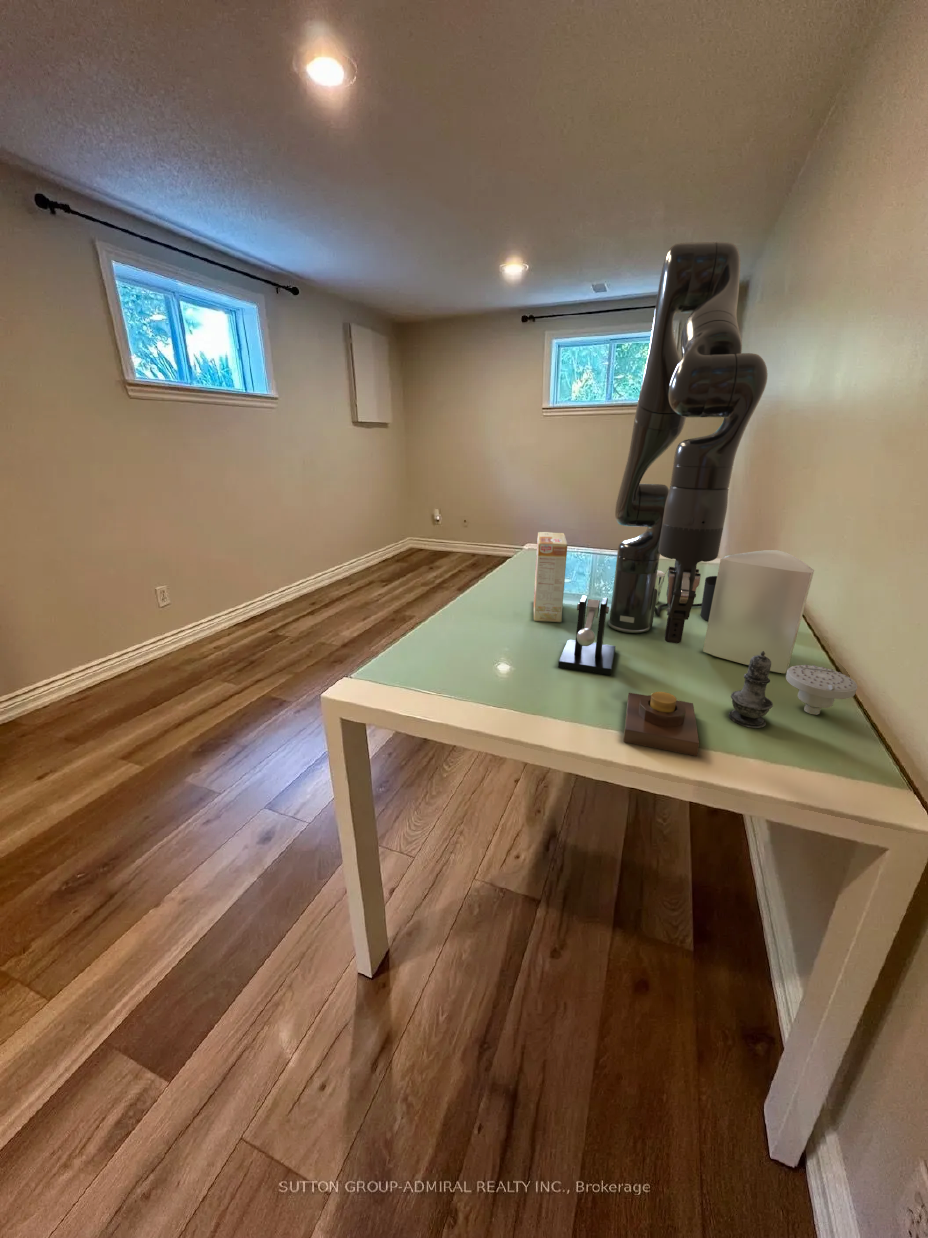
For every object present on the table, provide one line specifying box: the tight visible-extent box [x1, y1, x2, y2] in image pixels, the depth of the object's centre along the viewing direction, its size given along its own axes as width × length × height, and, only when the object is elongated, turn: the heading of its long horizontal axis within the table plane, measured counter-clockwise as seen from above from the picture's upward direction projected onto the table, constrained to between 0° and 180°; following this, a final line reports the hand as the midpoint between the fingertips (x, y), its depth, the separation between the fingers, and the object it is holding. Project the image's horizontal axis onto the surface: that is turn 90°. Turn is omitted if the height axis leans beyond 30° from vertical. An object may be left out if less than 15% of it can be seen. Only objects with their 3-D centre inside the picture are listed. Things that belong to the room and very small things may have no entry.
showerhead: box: [785, 664, 858, 716], centre depth 80 cm, size 9×7×10 cm
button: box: [650, 691, 677, 713], centre depth 75 cm, size 4×4×2 cm
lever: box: [577, 598, 601, 646], centre depth 92 cm, size 13×3×3 cm, turn 160°
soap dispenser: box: [702, 549, 815, 675], centre depth 99 cm, size 15×14×22 cm
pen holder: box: [700, 575, 717, 622], centre depth 122 cm, size 9×9×10 cm
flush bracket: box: [557, 595, 616, 676], centre depth 98 cm, size 12×10×13 cm
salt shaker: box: [728, 651, 774, 729], centre depth 77 cm, size 6×6×12 cm
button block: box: [622, 692, 700, 757], centre depth 76 cm, size 12×10×4 cm
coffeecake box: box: [533, 531, 568, 623], centre depth 124 cm, size 15×7×20 cm, turn 172°
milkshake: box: [655, 567, 669, 605], centre depth 134 cm, size 4×5×10 cm
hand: (672, 640), depth 72 cm, fingers closed
